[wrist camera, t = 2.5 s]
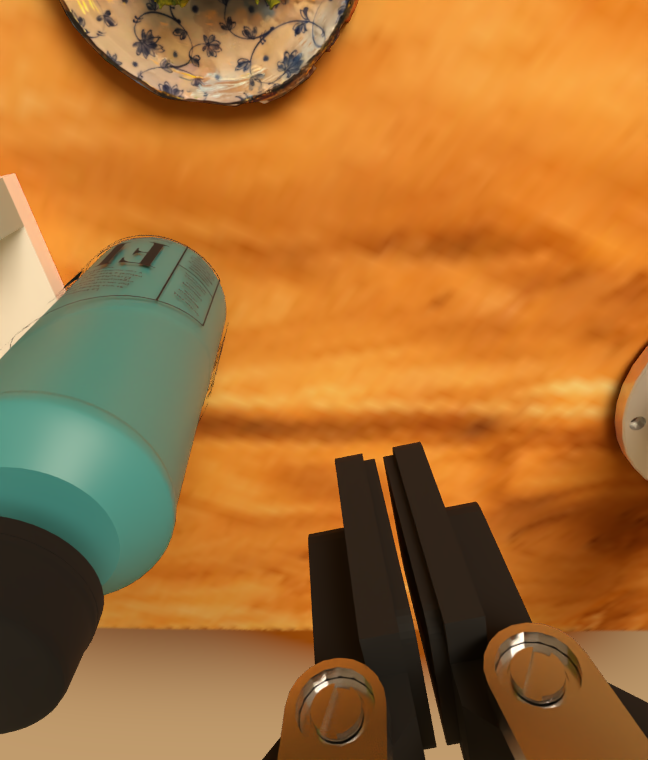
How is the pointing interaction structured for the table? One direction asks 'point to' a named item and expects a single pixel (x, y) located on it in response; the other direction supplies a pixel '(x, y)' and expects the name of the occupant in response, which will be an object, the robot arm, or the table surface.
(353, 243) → the table surface
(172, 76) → the burger
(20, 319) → the cradle
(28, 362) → the beverage bottle
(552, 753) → the robot arm
